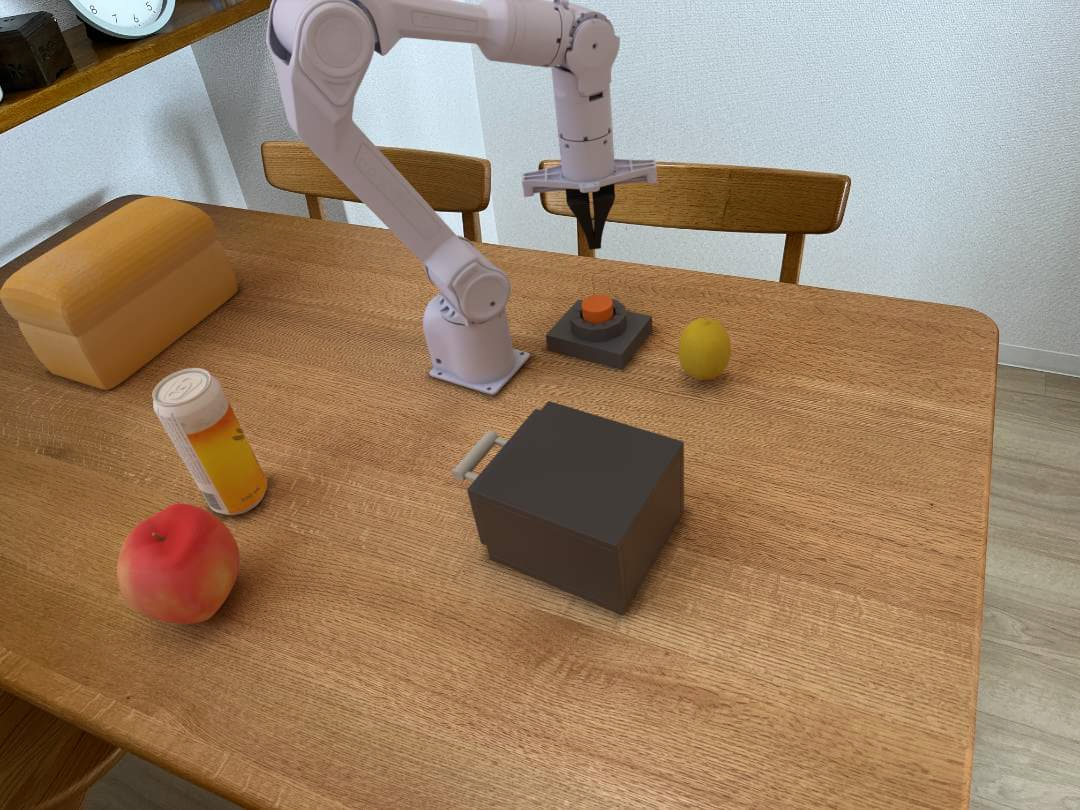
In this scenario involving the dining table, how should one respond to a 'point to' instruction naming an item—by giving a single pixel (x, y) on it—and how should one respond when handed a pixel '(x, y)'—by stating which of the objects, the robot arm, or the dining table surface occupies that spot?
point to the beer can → (210, 440)
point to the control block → (600, 335)
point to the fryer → (583, 503)
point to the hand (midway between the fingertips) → (594, 244)
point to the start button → (597, 309)
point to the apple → (178, 565)
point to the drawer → (474, 459)
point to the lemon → (704, 349)
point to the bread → (121, 290)
